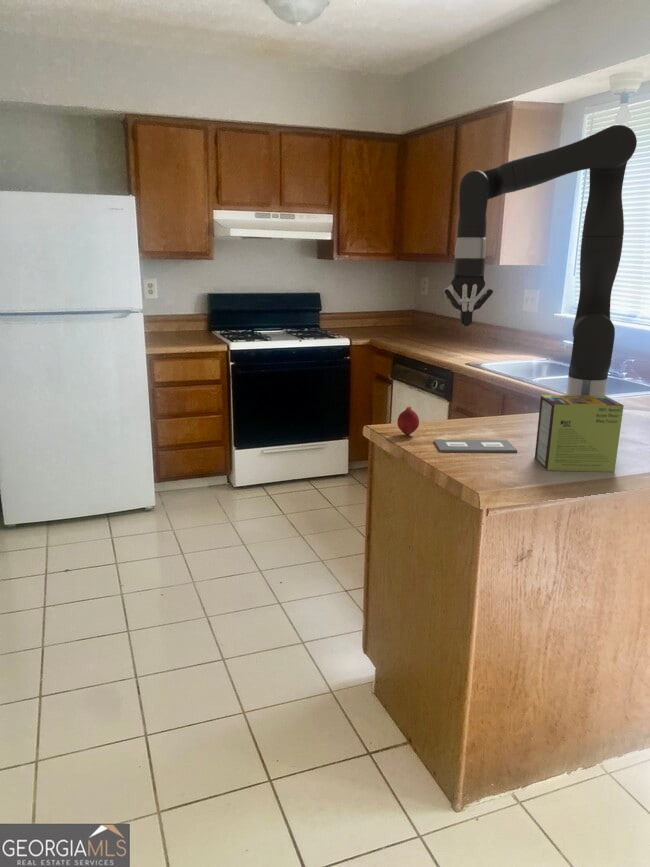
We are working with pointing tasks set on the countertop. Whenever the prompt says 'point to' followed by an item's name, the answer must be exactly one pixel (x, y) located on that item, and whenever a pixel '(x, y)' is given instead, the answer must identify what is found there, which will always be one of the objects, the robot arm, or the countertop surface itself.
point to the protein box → (578, 433)
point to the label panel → (474, 446)
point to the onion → (408, 421)
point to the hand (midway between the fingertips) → (465, 325)
